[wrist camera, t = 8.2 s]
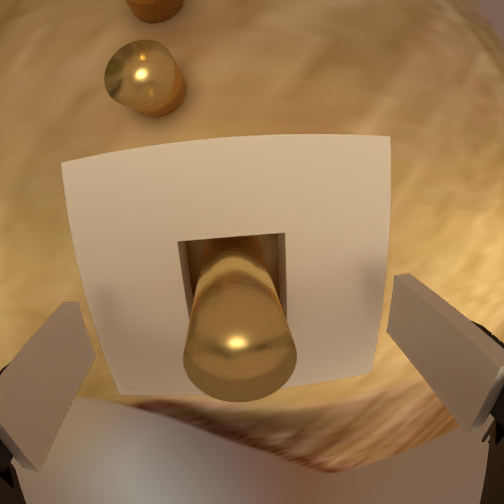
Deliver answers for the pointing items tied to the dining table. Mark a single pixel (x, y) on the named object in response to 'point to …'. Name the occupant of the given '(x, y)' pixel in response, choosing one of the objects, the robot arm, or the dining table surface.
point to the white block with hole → (230, 225)
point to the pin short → (145, 78)
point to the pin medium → (154, 9)
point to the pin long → (237, 325)
